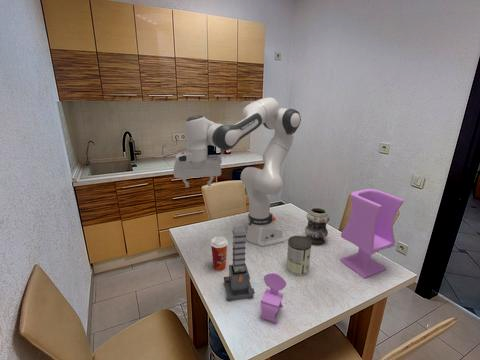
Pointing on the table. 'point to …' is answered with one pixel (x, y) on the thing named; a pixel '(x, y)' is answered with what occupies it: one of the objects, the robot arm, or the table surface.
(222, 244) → the paper cup
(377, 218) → the purple pedestal armchair
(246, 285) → the stand
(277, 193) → the robot arm
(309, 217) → the apothecary jar
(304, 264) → the coffee can
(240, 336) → the table surface
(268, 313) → the toy chair
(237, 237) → the column
